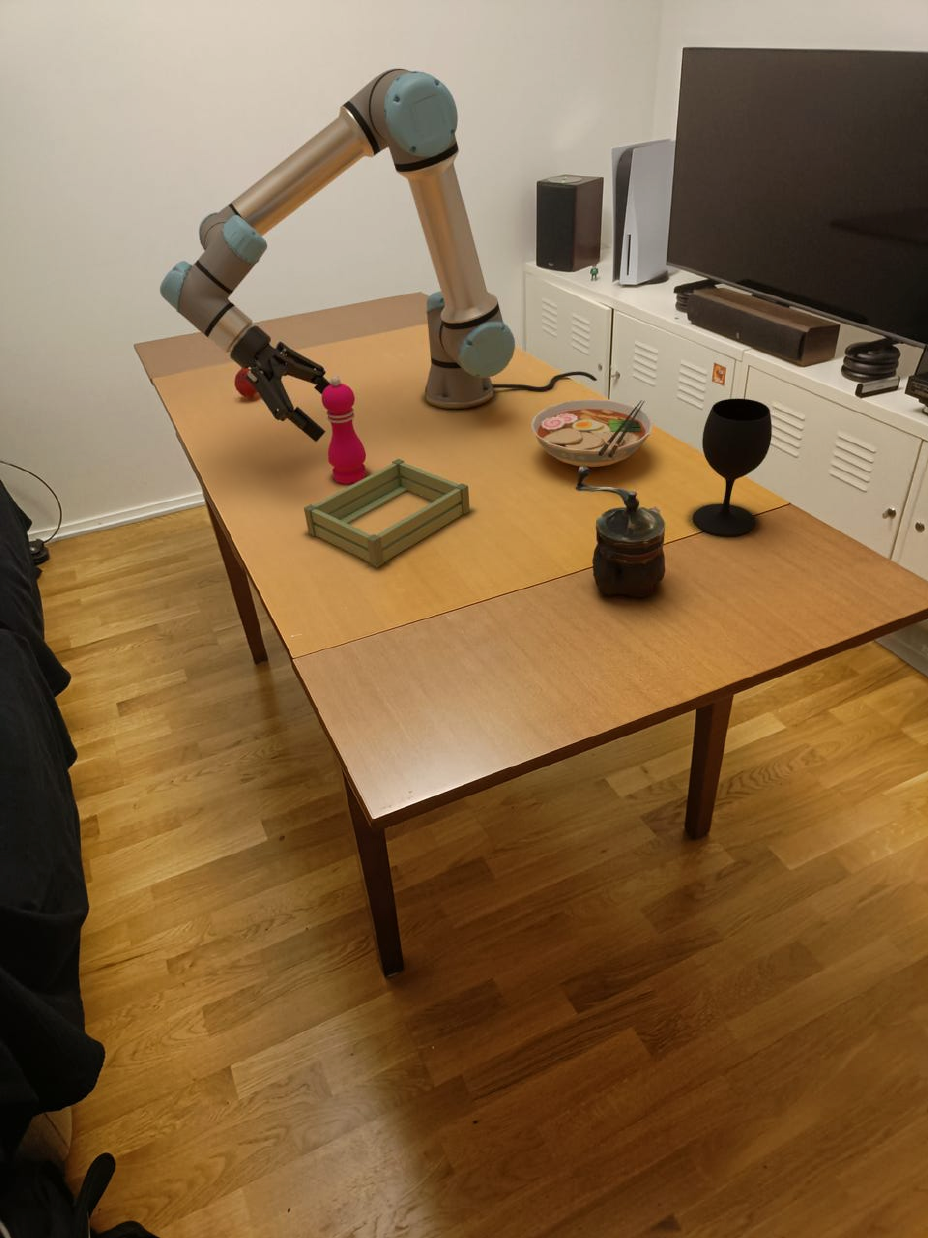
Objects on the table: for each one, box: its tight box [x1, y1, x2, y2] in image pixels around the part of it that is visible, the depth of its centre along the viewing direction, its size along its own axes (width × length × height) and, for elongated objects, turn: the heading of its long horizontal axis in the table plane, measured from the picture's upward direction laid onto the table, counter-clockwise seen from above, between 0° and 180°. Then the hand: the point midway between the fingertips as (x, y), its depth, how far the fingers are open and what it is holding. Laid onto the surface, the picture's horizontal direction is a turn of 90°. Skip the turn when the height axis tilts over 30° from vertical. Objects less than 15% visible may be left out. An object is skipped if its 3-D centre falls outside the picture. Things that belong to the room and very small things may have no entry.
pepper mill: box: [321, 375, 367, 485], centre depth 157 cm, size 7×7×20 cm
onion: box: [233, 367, 258, 399], centre depth 195 cm, size 6×6×8 cm
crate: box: [303, 458, 471, 569], centre depth 147 cm, size 23×18×5 cm
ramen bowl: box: [530, 398, 653, 468], centre depth 161 cm, size 25×23×8 cm
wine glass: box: [692, 398, 773, 538], centre depth 137 cm, size 10×10×20 cm
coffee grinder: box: [574, 466, 666, 599], centre depth 125 cm, size 13×15×18 cm
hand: (333, 421), depth 157 cm, fingers open, 13 cm apart
